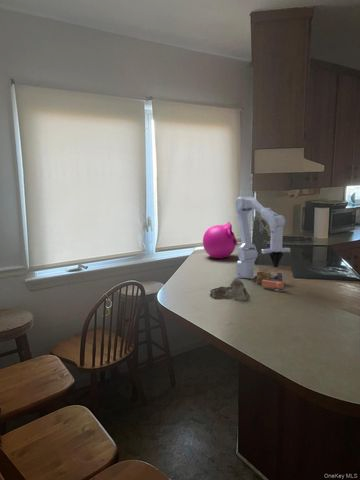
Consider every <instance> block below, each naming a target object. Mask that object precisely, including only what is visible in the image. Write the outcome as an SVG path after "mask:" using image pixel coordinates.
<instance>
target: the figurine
mask: <svg viewBox="0 0 360 480" xmlns="http://www.w3.org/2000/svg"><path fill="white" fill-rule="evenodd" d="M202 245H203V249H204V251H205V253H206V254H207V255H208V256H209V257H212V258H215V259H224V258H227V257H230V255H232V254H233V252H234V251H235V250H236V246H238V240H237V238H236V236H235V233H234V232H233V226H232V222H230V221H227V223H225V224H216V225H213V226H210V227H209V228H207V229H206V231H205V232H204V233H203V238H202Z"/></svg>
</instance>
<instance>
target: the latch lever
mask: <svg viewBox="0 0 360 480" xmlns="http://www.w3.org/2000/svg"><path fill="white" fill-rule="evenodd" d="M284 284H285V283H284V281H283V282H280V281H278V282H277V281H276V280H270V281H268V280H262V284H261V287H263V288H264V287H265V288H273V289H274V288H276V289H279V290H282V289H285V287H284V286H285V285H284Z"/></svg>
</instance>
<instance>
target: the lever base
mask: <svg viewBox="0 0 360 480" xmlns="http://www.w3.org/2000/svg"><path fill="white" fill-rule="evenodd" d="M273 290H274V292H276V293H284V292H286V288H284V289H282V290H279V289H276V288H273Z"/></svg>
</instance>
